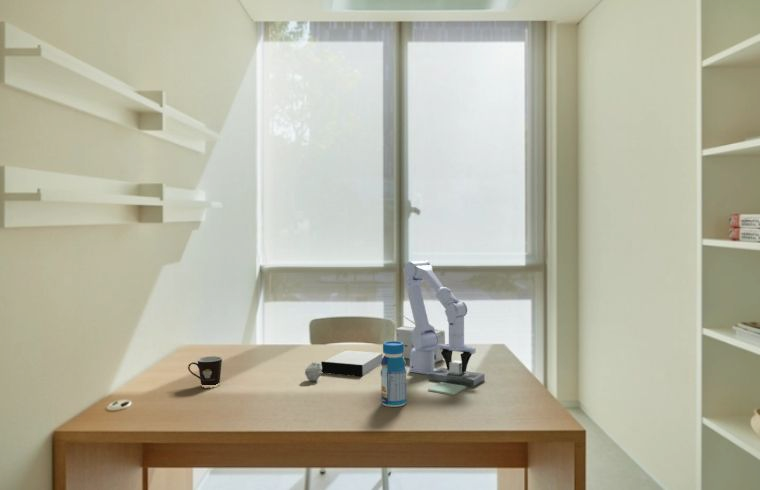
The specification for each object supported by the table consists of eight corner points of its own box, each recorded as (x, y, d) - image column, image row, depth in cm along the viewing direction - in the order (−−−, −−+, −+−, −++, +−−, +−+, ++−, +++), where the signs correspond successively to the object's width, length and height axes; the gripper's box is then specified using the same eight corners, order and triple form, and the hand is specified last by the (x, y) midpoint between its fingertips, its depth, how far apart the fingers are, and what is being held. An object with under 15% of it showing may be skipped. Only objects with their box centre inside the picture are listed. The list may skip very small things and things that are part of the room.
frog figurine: (325, 380, 211) (325, 362, 211) (311, 384, 206) (311, 365, 206) (315, 377, 216) (315, 359, 215) (301, 381, 210) (300, 362, 210)
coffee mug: (227, 384, 208) (227, 357, 208) (211, 390, 200) (210, 362, 200) (203, 380, 213) (202, 354, 212) (186, 386, 205) (186, 359, 205)
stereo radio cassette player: (445, 360, 241) (445, 313, 240) (437, 364, 234) (436, 316, 233) (403, 354, 252) (403, 310, 251) (394, 358, 245) (393, 312, 244)
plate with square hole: (429, 380, 210) (429, 373, 210) (441, 373, 218) (441, 367, 218) (473, 387, 200) (473, 380, 200) (484, 380, 208) (484, 373, 208)
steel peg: (449, 381, 209) (449, 362, 208) (454, 378, 212) (454, 360, 212) (459, 382, 206) (459, 363, 206) (463, 379, 210) (463, 361, 209)
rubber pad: (428, 390, 197) (428, 389, 197) (441, 383, 205) (441, 382, 205) (453, 395, 191) (453, 393, 191) (466, 387, 199) (466, 386, 199)
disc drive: (321, 374, 222) (321, 361, 222) (345, 360, 243) (345, 349, 243) (362, 378, 215) (361, 365, 215) (383, 364, 236) (382, 352, 236)
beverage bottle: (398, 409, 177) (397, 346, 177) (376, 405, 182) (375, 344, 181) (411, 402, 184) (410, 341, 184) (389, 398, 189) (388, 339, 188)
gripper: (434, 334, 209) (434, 370, 210) (469, 338, 201) (470, 375, 202) (442, 331, 215) (442, 366, 215) (477, 335, 207) (477, 371, 208)
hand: (456, 370), depth 209 cm, fingers open, 5 cm apart
